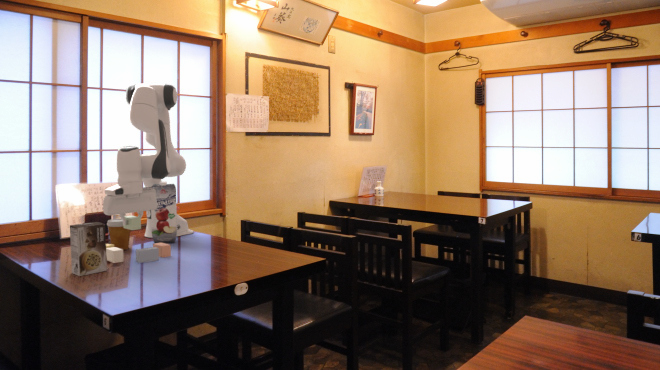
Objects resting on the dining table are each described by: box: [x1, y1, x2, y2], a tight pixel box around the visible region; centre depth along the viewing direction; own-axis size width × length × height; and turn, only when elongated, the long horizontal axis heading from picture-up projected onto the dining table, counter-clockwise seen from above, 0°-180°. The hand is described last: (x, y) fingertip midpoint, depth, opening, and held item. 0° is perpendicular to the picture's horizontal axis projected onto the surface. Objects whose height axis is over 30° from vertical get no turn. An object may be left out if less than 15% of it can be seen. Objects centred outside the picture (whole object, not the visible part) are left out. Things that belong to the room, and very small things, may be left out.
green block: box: [123, 214, 142, 231], centre depth 182 cm, size 4×7×4 cm, turn 49°
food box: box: [69, 221, 108, 277], centre depth 155 cm, size 9×6×16 cm
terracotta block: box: [152, 243, 172, 258], centre depth 181 cm, size 4×7×4 cm, turn 49°
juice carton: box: [151, 180, 178, 244], centre depth 207 cm, size 9×10×27 cm
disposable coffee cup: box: [106, 218, 131, 251], centre depth 193 cm, size 10×10×12 cm
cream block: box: [106, 247, 124, 264], centre depth 172 cm, size 4×7×4 cm, turn 47°
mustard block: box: [106, 243, 114, 248], centre depth 180 cm, size 4×7×4 cm, turn 66°
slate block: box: [135, 246, 160, 264], centre depth 172 cm, size 4×7×4 cm, turn 129°
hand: (131, 223), depth 182 cm, fingers closed on green block, 3 cm apart
